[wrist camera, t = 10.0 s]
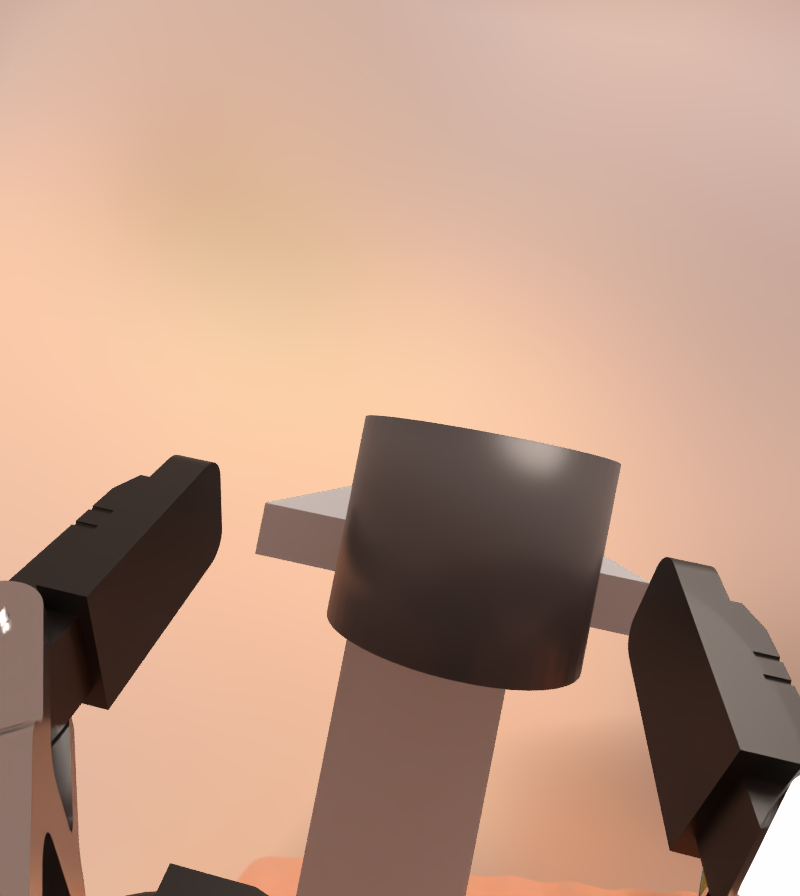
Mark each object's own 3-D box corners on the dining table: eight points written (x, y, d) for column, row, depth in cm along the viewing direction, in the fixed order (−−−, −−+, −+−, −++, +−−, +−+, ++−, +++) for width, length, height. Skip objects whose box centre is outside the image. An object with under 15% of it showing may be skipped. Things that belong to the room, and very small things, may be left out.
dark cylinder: (613, 717, 6) (661, 464, 6) (297, 644, 6) (344, 405, 6) (481, 510, 32) (489, 465, 32) (424, 498, 32) (432, 454, 32)
